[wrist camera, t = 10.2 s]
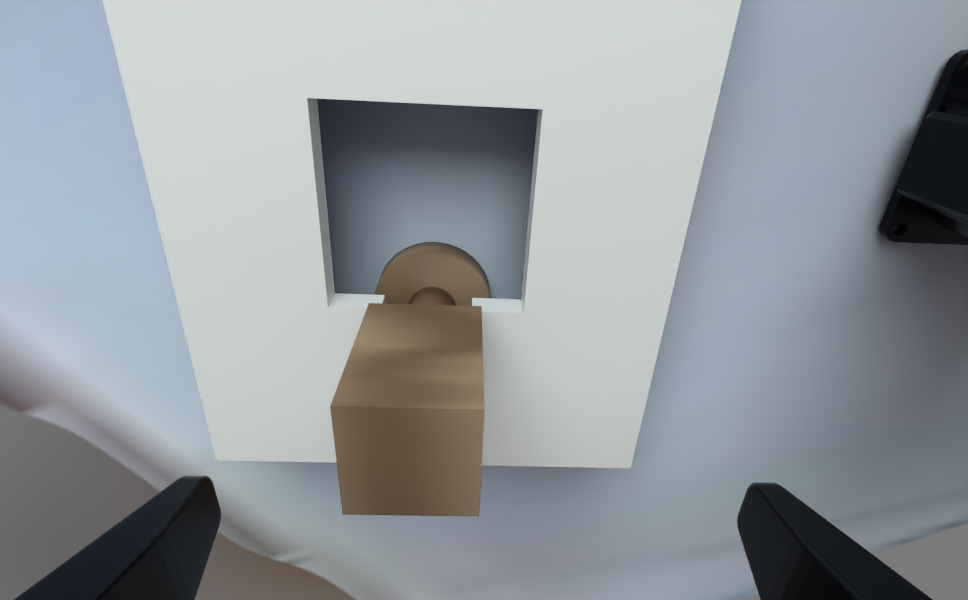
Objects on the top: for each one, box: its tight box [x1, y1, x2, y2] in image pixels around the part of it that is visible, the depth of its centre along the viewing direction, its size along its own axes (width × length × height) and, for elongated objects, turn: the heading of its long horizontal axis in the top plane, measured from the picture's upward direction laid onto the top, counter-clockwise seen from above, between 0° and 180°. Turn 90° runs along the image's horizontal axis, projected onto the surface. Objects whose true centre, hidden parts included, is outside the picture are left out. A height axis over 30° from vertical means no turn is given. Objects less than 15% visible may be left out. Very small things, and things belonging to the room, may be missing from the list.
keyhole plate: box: [102, 0, 742, 468], centre depth 17 cm, size 16×20×4 cm
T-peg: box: [330, 242, 490, 516], centre depth 17 cm, size 4×4×9 cm
